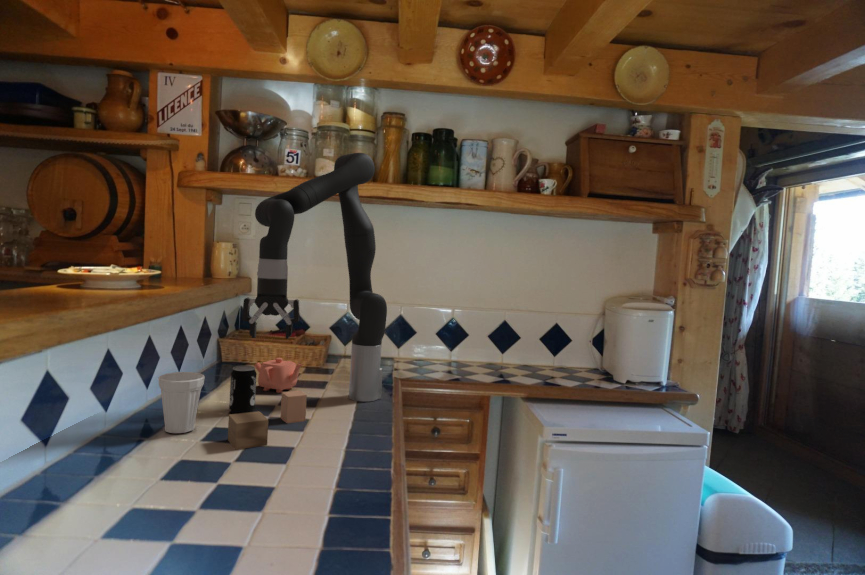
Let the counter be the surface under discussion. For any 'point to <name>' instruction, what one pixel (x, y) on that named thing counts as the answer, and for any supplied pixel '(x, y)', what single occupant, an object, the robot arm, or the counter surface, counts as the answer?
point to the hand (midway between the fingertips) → (270, 338)
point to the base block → (247, 430)
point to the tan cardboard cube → (293, 406)
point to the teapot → (277, 374)
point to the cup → (180, 399)
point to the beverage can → (242, 389)
